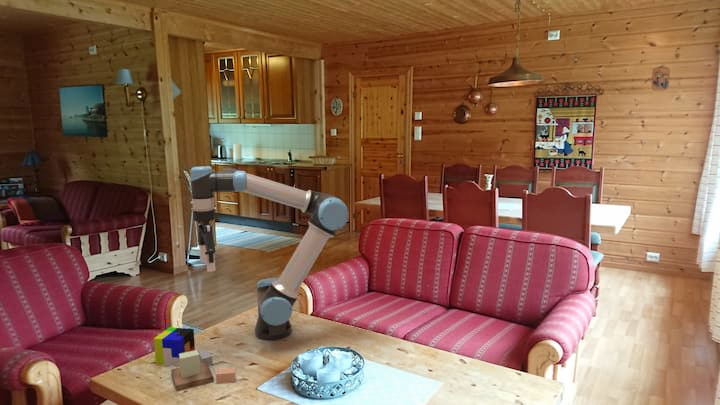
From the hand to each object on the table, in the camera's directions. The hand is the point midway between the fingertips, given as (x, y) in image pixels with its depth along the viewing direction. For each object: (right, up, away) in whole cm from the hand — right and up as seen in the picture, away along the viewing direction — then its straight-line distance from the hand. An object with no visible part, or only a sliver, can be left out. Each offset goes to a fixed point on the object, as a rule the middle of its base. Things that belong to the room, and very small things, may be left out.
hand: (207, 266), depth 177 cm
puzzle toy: (-13, -35, +3) cm, 38 cm away
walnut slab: (-2, -37, -11) cm, 39 cm away
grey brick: (-1, -35, 0) cm, 35 cm away
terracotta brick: (+10, -37, -13) cm, 41 cm away
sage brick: (-2, -35, -12) cm, 37 cm away
